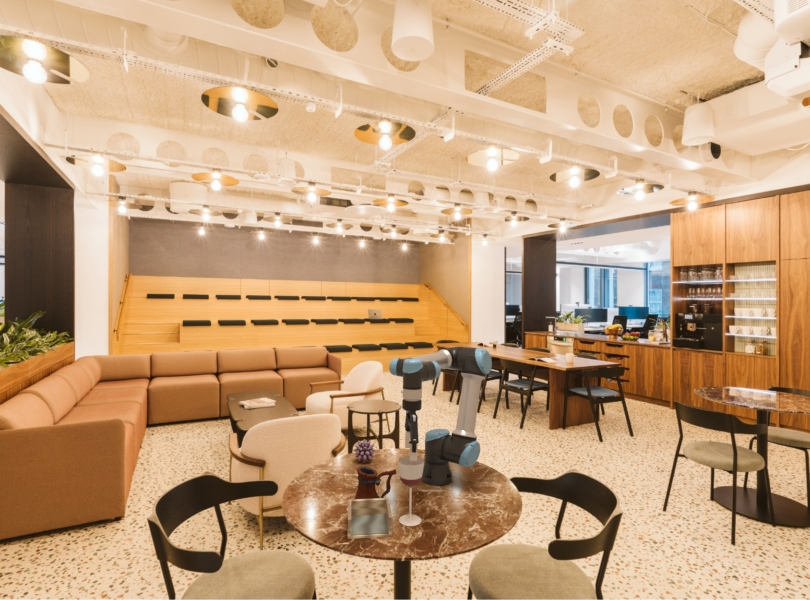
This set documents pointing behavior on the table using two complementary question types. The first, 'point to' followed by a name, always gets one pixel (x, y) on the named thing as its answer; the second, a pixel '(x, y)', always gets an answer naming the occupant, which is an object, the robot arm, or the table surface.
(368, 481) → the brown pitcher
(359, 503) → the square tray
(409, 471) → the wineglass
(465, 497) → the table surface
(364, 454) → the flower
